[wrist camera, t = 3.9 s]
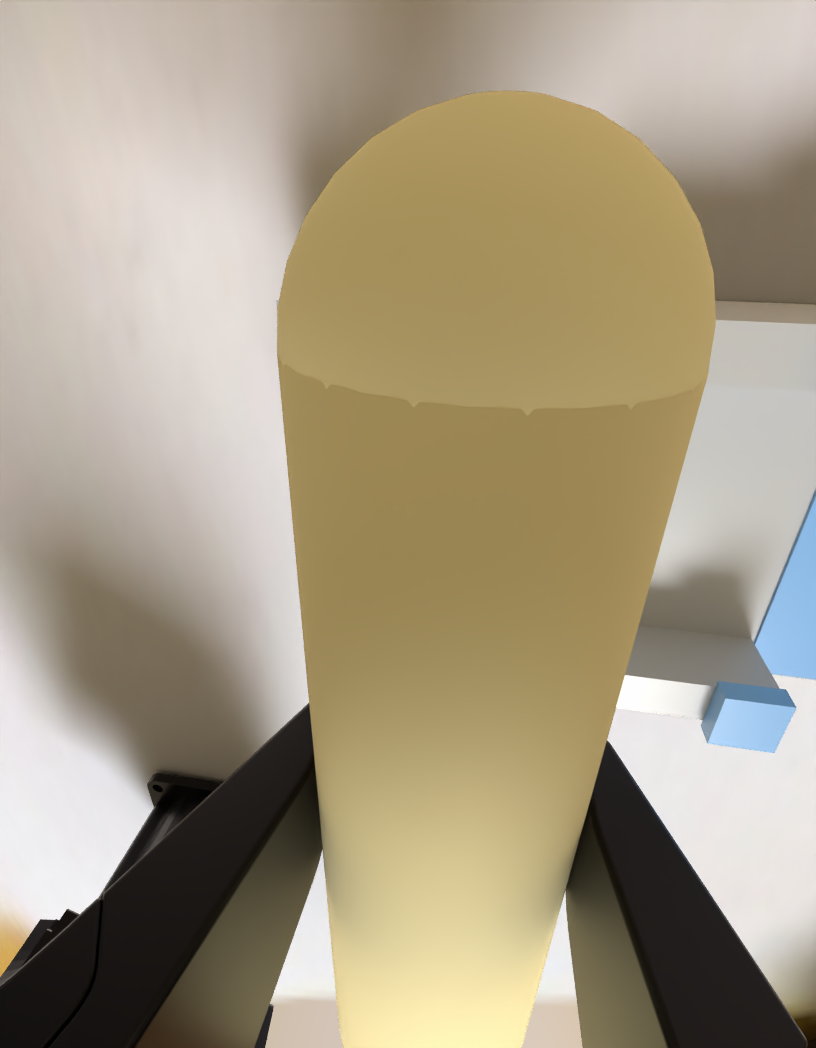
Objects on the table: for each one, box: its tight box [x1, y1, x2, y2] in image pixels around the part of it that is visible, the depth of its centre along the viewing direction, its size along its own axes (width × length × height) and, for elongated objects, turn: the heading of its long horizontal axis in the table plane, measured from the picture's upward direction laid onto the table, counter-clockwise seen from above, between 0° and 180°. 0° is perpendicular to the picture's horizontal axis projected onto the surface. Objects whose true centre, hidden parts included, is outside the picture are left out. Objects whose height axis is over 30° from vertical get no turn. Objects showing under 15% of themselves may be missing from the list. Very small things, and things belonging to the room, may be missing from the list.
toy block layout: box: [277, 300, 816, 753], centre depth 14 cm, size 20×10×4 cm, turn 89°
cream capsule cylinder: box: [277, 91, 716, 1048], centre depth 7 cm, size 14×3×3 cm, turn 179°
